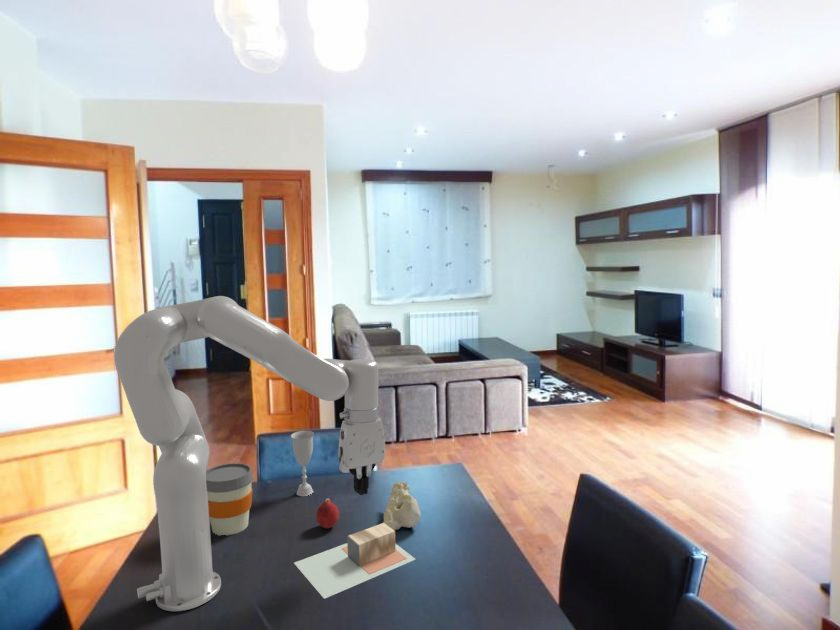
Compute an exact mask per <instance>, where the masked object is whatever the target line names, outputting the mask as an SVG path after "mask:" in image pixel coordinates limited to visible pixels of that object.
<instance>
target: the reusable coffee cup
mask: <svg viewBox="0 0 840 630" xmlns="http://www.w3.org/2000/svg"><path fill="white" fill-rule="evenodd" d="M253 481H254V476H253V470H252V466H250V465H249V464H247V463H241V462H233V463H232V462H231V463H224V464H219V465H216V466H213V467H211V468H209V469H207V470H206V487H207V496H208V507H209V521H210V528H211V531H212V533H213V534H214V533H215V534H214V535H216V534H217V536H221V535H226V536H231V535H235V534H239V533H241V532H243V531H244V530H246V529H247V527H248V526H249V517H250V509H251V507H252V501H253V492H254V491H253V487H252V482H253Z"/></svg>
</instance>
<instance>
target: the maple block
mask: <svg viewBox="0 0 840 630" xmlns="http://www.w3.org/2000/svg"><path fill="white" fill-rule="evenodd" d="M346 537H347V539H346V540H347V547H348V557H349V558H350V559H351V560H352V561H353V562H354V563H355V564H356V565H357V566H361V565H363V564H366V563H368V562H371V561H373V560H376V559H378V558H380V557H383V556H385V555H388V554H390V553H393V552H395V551H396V549H395V543H396V530H395V531H394V530H393V529H392V528H390V527H389V526H387V525H386V524H385V523H383V522H382V523H379V524H377V525H373V526H371V527H369V528H366V529H362V530H360V531H357V532H355V533H352V534H348V535H346Z"/></svg>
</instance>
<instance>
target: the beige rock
mask: <svg viewBox="0 0 840 630" xmlns="http://www.w3.org/2000/svg"><path fill="white" fill-rule="evenodd" d="M409 491H410V486H409V483H407V482H405V481H404V480H403V481H401V482H399V481H396V482H395V483H394V484H393V486H392V489H391V492H390V496H389V499H388V502H387V504H386V505H385V506H386V507H385V510H384V514H383V521H382V523H385V524H386V525H387V526H389V527H390V528H392V529H393V530H394V531H395V532H396V530H400V528H408V529H409V528H416V526H417V525H418V524H419V522H420V521H421V516H422V515H421V514H422V513H421V509H420V507H419V503H418V501H417V499H416V498H414V497H413V496H412V495H411V494H410V493H409Z"/></svg>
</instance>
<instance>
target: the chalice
mask: <svg viewBox="0 0 840 630" xmlns="http://www.w3.org/2000/svg"><path fill="white" fill-rule="evenodd" d="M314 435H315V432H313V431H311V430H300V431H296V432H293V433H292V434H290V437H291V439H292V452H293V455H294V457H295V460H296V461H297V463H298V464H299V466H301V468H302V470H301V473H302V476H301V479H302V483H301V484H299V486H298V489H297V491H296V495H297V496H298V497H307V496H308V495H309V496H311V495H313V494H312V493H314V490H313V488H312V486H311V484H310V483H308V482H307V479H308V476H307V469H306V468H307V467H306V466H307V465H309V463H310V460H311V458H312V455H313V450H314V439H313V438H314ZM310 494H311V495H310Z"/></svg>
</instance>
